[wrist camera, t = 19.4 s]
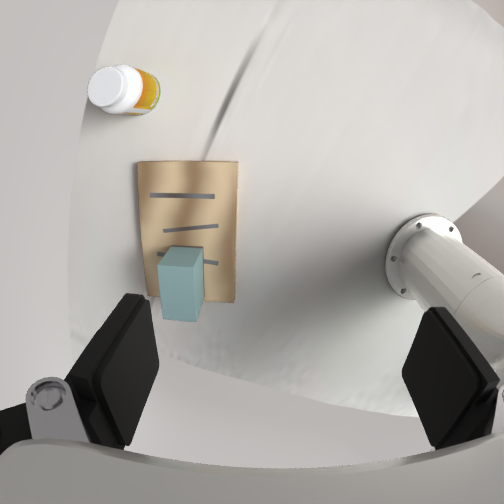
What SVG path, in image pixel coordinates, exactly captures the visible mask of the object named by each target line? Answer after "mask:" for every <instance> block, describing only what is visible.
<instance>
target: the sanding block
mask: <svg viewBox="0 0 504 504" xmlns="http://www.w3.org/2000/svg"><path fill="white" fill-rule="evenodd" d="M157 268H158V278H159V288H160V297H161V306H162V314H163V319H168V320H178V321H189V322H196V321H197V318H198V315H199V312H200V309H201V306H202V303H203V300H204V297H205V291H204V252H203V247H202V246H183V245H172V246H171V247H170V248H169V250H168V251H167V252H166V254H165V255H164V257H163V258H162V259H161V261H160V262H159V263H158V265H157Z"/></svg>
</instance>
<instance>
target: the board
mask: <svg viewBox="0 0 504 504" xmlns="http://www.w3.org/2000/svg"><path fill="white" fill-rule="evenodd" d="M137 169H138V195H139V213H140V227H141V240H142V251H143V261H144V270H145V279H146V287H147V295H148V296H154V297H160V288H159V278H158V268H157V265H158V263H159V262H160V261H161V259H162V258H163V257H164V255H165V254H166V252H167V251H168V250H169V248H170V247H171V246H172V245H183V246H202V247H203V252H204V291H205V297H204V300H203V301H214V302H229V303H234V300H235V261H236V222H237V189H238V162H227V161H145V162H138V163H137Z"/></svg>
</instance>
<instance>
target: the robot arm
mask: <svg viewBox="0 0 504 504" xmlns="http://www.w3.org/2000/svg"><path fill="white" fill-rule="evenodd" d="M416 224H417V225H416ZM392 256H393V257H392ZM385 269H386V275H387V278H388V281H389V283H390V284H391V286H392V288H393V289H394V290H395V291H396V292H397V293H398V294H399V295H400V296H402V297H404V298H406V299H410V300H416V301H417V302H418V304H419V305H420V306H421V308H422V309H423V310H424V312H425V313H424V314H423V317H422V320H421V322H420V325H419V328H418V331H417V333H416V336H415V339H414V341H413V344H412V346H411V349H410V351H409V354H408V356H407V359H406V361H405V363H404V366H403V368H402V377H403V380H404V382H405V384H406V387H407V389H408V391H409V393H410V396H411V398H412V400H413V403H414V405H415V407H416V410H417V412H418V415H419V417H420V419H421V422H422V424H423V427H424V429H425V432H426V435H427V437H428V440H429V442H430V444H431V446H432V449H431V452H426V453H422V454H418V455H413V456H407V457H402V458H397V459H391V460H385V461H378V462H371V463H364V464H355V465H347V466H334V467H319V468H288V469H287V468H286V469H277V468H275V469H273V468H245V467H244V468H243V467H229V466H218V465H208V464H199V463H192V462H185V461H178V460H172V459H165V458H159V457H153V456H149V455H143V454H138V453H133V452H129V451H125V450H124V447H125V445H126V446H129V445H130V444H131V442H132V439H133V436H134V433H135V431H136V428H137V425H138V422H139V420H140V417H141V414H142V411H143V409H144V406H145V404H146V401H147V398H148V396H149V393H150V390H151V388H152V385H153V383H154V380H155V377H156V375H157V372H158V369H159V358H158V352H157V347H156V341H155V335H154V329H153V322H152V315H151V309H150V302H149V300H146V299H145V298H144V296H143V295H140V294H130V293H126V294H125V295H124V296H123V298H122V299H121V300H120V302H119V303H118V305H117V306H116V307H115V309H114V310H113V311H112V313H111V314H110V315H109V317H108V318H107V320H106V321H105V322H104V324H103V325H102V327H101V328H100V329H99V330H98V331H97V332H96V334H95V335H94V336H93V338H92V339H91V341H90V342H89V344H88V345H87V347H86V348H85V349H84V351H83V352H82V354H81V355H80V357H79V358H78V360H77V361H76V363H75V364H74V366H73V367H72V369H71V370H70V372H69V373H68V375H67V376H66V378H65V379H64V380H62V379H60V378H57V377H48V378H43V379H40V380H38V381H37V382H36V383H34V384H32V385H31V387H30V388H29V389H28V391H27V394H26V403H23V404H20V405H17V406H14V407H10V408H7V409H4V410H1V411H0V504H504V275H503V274H502V273H501V272H499V271H498V270H497V269H496V268H495V267H493V266H492V265H491V264H489V263H488V262H487V261H486V260H484V259H483V258H482V257H480V256H479V255H478V254H476V253H475V252H474V251H472V250H471V249H470V248H468V247H467V246H466V245H464V244H463V243H462V238H461V236H460V233H459V231H458V229H457V228H456V226H455V225H454V224H453V223H452V222H451V221H449V220H448V219H446V218H445V217H442V216H440V215H435V214H427V215H422V216H419V217H416V218H414V219H412V220H410V221H409V222H408V223H406V224H405V225H404V226H403V227H402V228H401V229H400V230H399V231H398V232H397V233H396V235H395V236H394V238H393V240H392V241H391V243H390V246H389V248H388V251H387V255H386V262H385Z"/></svg>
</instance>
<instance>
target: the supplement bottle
mask: <svg viewBox="0 0 504 504" xmlns="http://www.w3.org/2000/svg"><path fill="white" fill-rule="evenodd" d="M87 93H88V97H89V99H90V101H91V102H92V103H93V104H94V105H96V106H99V107H100V108H101V109H102V110H103V111H105V112H107V113H110V114H122V115H143V114H146V113H148V112H150V111H152V110H153V109H154V108H155V107H156V106H157V104H158V103H159V101H160V98H161V93H162V90H161V85H160V83H159V81H158V79H157V78H156V77H154V76H153V75H151V74H149V73H146V72H144V71H141V70H139V69H136V68H134V67H131V66H128V65H115V66H113V67H104V68H101V69H100V70H98V71H97V72H95V73H94V75H93V76H92V77H91V79H90V81H89V83H88V88H87Z"/></svg>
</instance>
